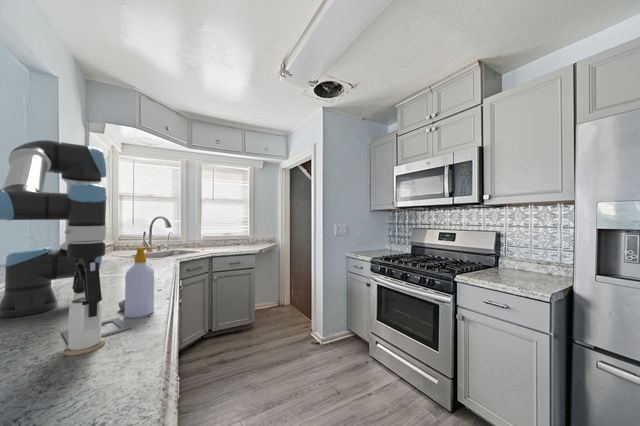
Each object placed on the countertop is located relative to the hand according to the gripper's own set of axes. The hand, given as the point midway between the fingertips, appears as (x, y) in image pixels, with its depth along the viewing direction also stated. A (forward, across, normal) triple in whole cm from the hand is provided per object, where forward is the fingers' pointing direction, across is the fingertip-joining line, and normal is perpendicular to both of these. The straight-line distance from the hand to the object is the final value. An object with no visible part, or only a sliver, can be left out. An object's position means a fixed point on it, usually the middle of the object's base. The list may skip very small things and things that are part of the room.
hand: (85, 322), depth 68 cm
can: (+6, 0, 0) cm, 6 cm away
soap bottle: (+7, -18, +18) cm, 26 cm away
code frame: (+7, -11, +4) cm, 14 cm away
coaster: (+6, 0, 0) cm, 7 cm away
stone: (+7, -26, +19) cm, 33 cm away
